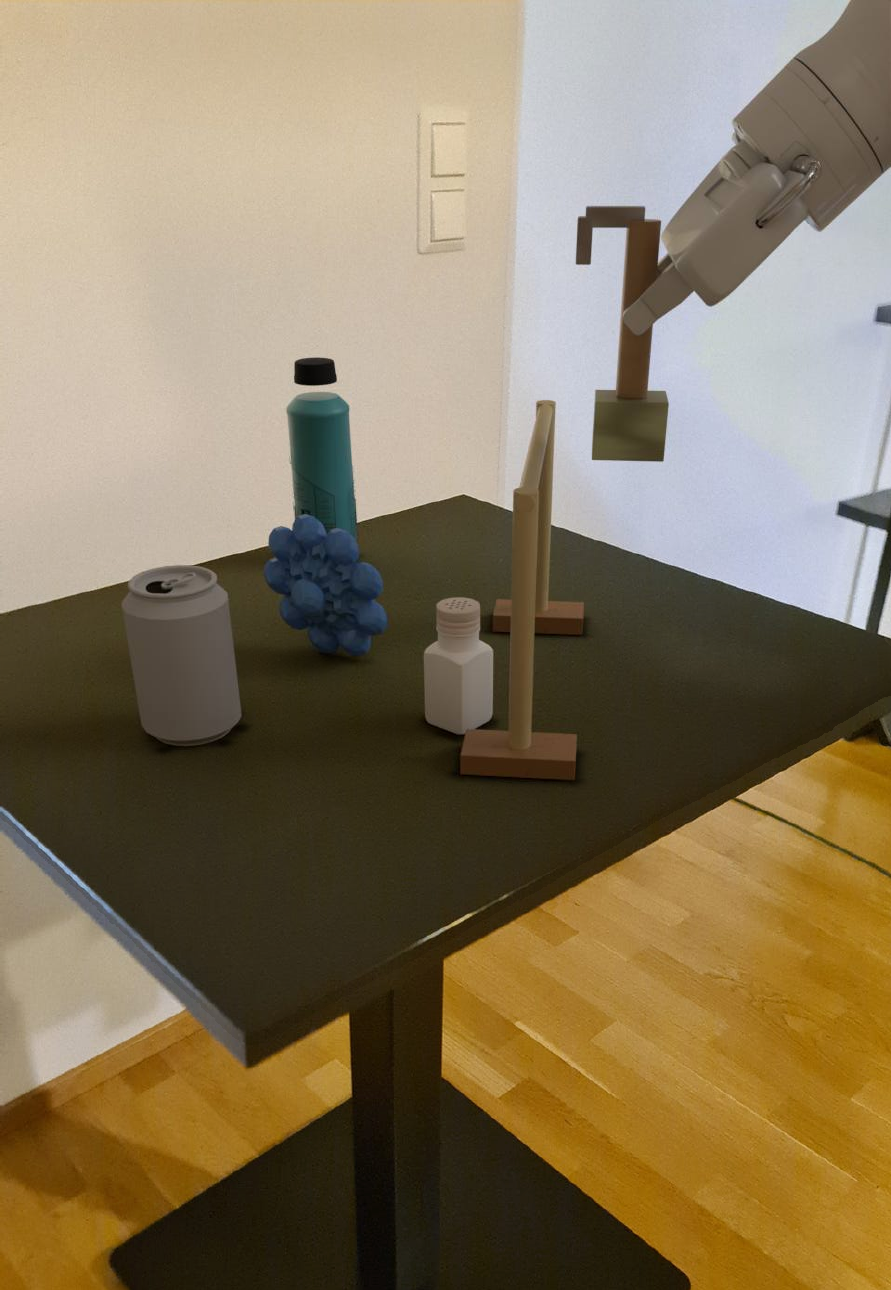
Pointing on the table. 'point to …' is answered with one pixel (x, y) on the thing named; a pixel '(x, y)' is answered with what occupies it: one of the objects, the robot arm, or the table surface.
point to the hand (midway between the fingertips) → (627, 322)
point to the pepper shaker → (458, 669)
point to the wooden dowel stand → (528, 628)
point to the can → (182, 654)
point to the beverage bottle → (321, 449)
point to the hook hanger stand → (628, 345)
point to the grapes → (325, 586)
